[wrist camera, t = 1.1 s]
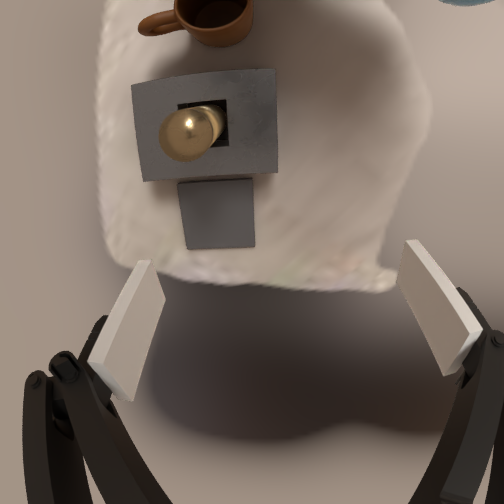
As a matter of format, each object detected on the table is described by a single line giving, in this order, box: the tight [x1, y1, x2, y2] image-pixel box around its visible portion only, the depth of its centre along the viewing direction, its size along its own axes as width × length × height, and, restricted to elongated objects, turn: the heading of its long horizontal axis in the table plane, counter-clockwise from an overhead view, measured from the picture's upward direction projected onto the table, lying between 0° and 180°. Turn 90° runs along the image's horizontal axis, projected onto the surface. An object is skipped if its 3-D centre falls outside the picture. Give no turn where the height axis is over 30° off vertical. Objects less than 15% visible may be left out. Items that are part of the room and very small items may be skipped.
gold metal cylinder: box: [158, 104, 227, 162], centre depth 27 cm, size 4×4×14 cm
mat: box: [177, 178, 255, 249], centre depth 39 cm, size 10×10×1 cm
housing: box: [131, 69, 278, 182], centre depth 31 cm, size 12×16×5 cm
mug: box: [138, 0, 253, 47], centre depth 22 cm, size 12×8×9 cm, turn 102°
